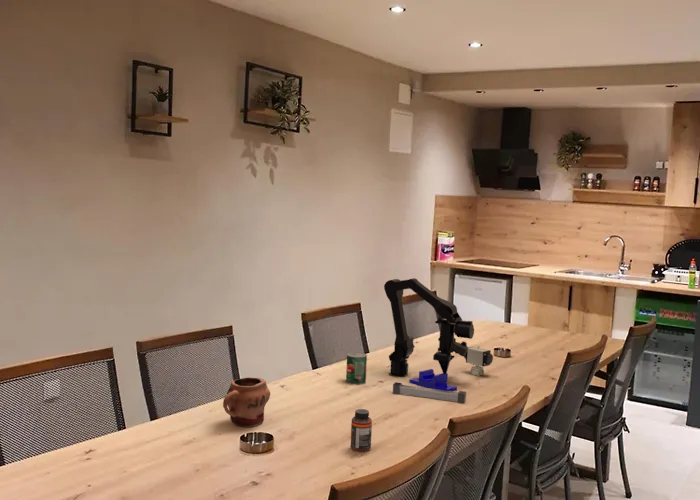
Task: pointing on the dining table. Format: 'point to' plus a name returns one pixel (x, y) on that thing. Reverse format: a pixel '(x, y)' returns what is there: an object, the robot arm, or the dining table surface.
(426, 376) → the mounting bracket
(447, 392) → the rail
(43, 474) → the dining table surface
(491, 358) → the pneumatic valve
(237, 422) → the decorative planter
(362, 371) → the canned tomato
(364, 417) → the supplement bottle
